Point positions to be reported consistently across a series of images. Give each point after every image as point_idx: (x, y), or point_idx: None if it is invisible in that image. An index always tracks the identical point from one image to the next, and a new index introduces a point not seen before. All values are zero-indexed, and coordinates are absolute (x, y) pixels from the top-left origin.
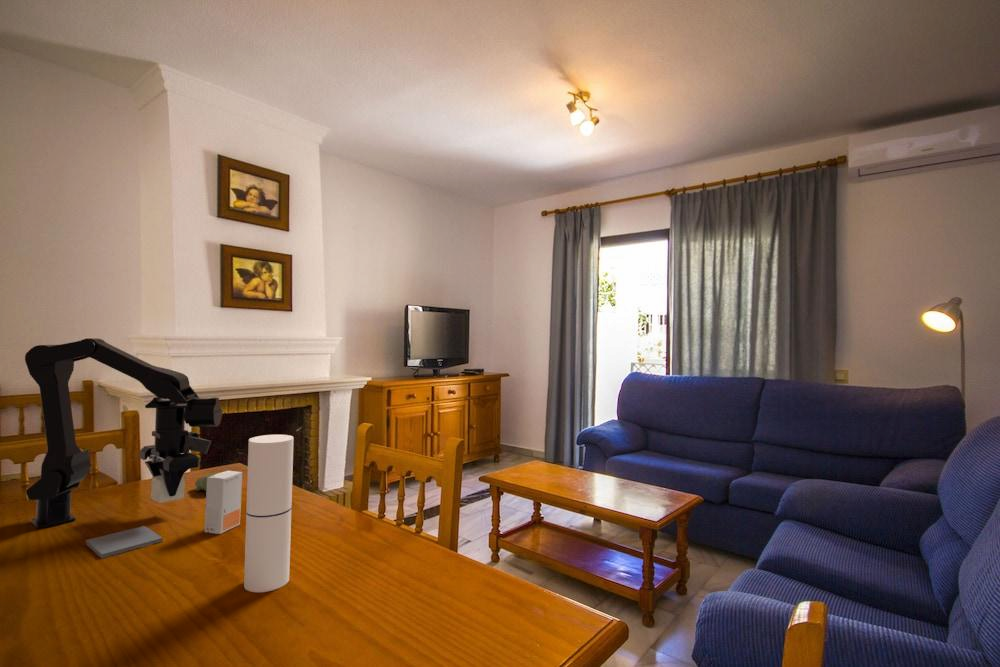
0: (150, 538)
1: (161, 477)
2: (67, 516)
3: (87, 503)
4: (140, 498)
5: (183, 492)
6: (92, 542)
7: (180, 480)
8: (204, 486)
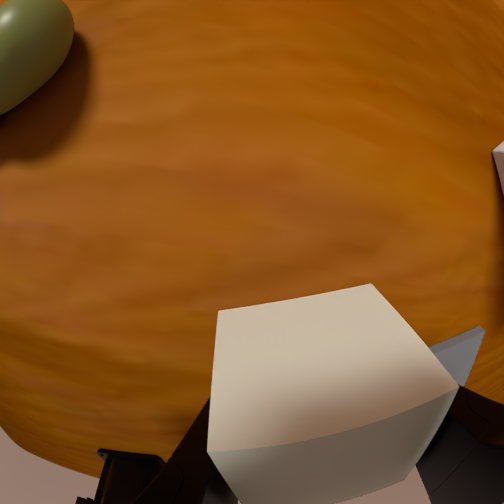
0: (467, 353)
1: (318, 497)
2: (149, 469)
3: (28, 406)
4: (5, 319)
5: (387, 306)
6: None
7: (473, 393)
8: (19, 97)
